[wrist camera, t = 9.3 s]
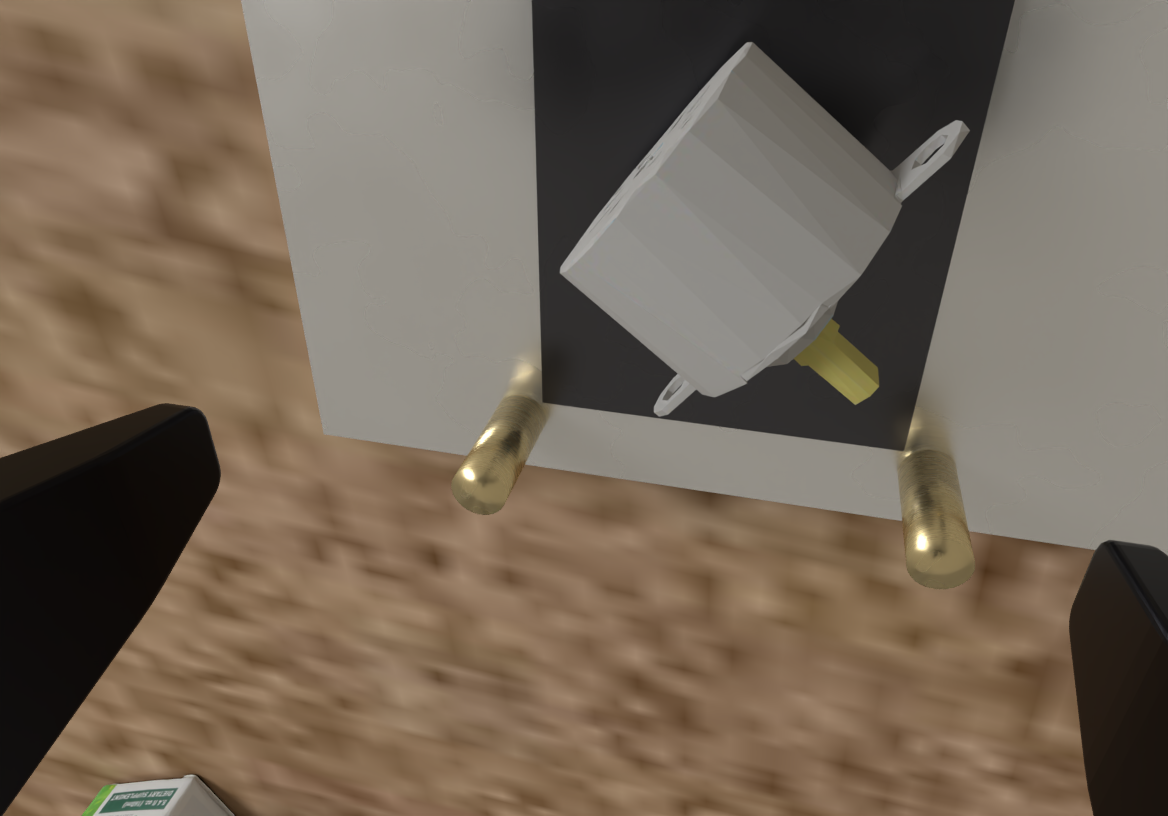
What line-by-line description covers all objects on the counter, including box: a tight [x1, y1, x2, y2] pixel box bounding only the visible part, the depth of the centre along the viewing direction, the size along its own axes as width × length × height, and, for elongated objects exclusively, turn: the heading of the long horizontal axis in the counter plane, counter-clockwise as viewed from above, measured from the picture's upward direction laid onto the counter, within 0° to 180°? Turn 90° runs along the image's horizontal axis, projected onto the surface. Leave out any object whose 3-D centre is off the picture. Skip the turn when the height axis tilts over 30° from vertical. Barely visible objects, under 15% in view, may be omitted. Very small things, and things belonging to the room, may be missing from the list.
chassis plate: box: [241, 0, 1168, 589], centre depth 16 cm, size 20×14×4 cm
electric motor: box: [560, 42, 970, 417], centre depth 14 cm, size 7×5×5 cm
